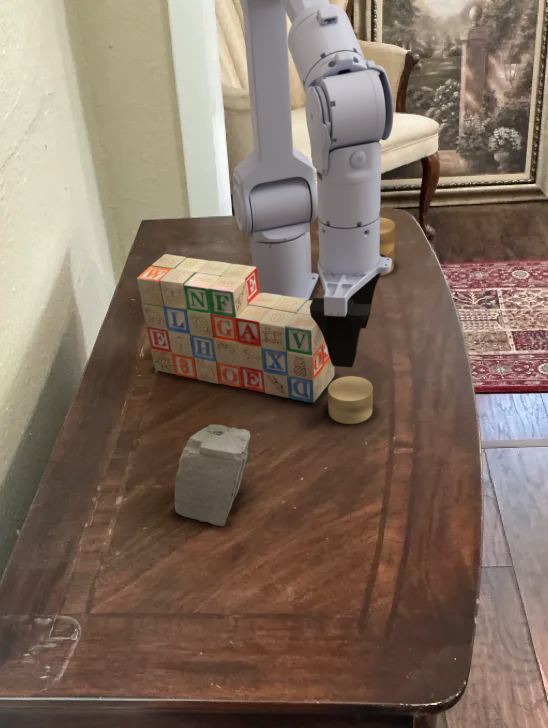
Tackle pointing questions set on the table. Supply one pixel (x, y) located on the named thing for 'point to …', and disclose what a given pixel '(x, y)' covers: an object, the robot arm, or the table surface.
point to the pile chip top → (387, 235)
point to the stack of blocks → (231, 329)
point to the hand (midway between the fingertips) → (350, 345)
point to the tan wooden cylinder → (350, 399)
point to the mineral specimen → (211, 473)
